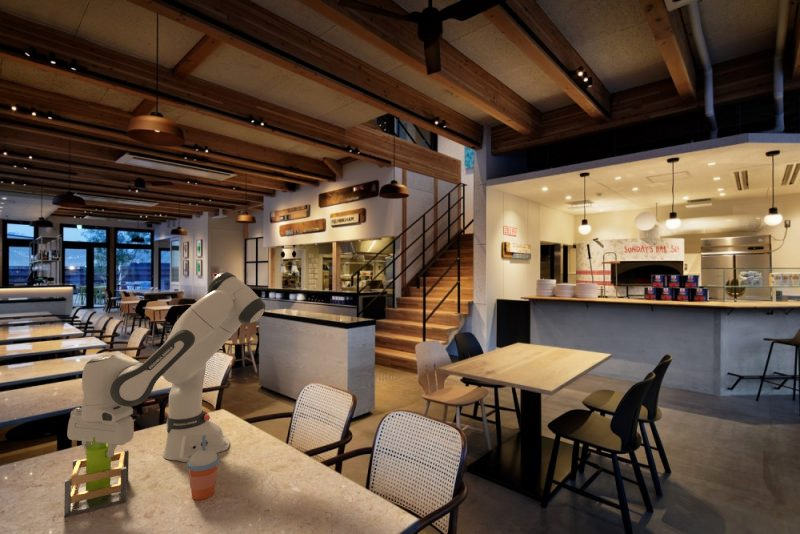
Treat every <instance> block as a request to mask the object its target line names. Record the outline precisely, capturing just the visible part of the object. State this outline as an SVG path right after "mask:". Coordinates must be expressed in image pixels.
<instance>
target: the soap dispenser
mask: <svg viewBox="0 0 800 534" xmlns="http://www.w3.org/2000/svg"><path fill="white" fill-rule="evenodd" d="M91 444H92V445H91V446H89V447H88V448H87V452H86V455H85V456H86V458H85V459H86V467H85V474H88V473H93V472H98V471H103V470H107V469H112V467H111V465H112V461H111V458H108V457H105V452H106V451H108V449H109V447H108V444H106V443H97V442H96V441H95V437H93V441H92V442H91ZM111 478H112V477H109V478H104V479H99V480H95V481H90V482H86V483H85V486H86V491H89V490H94V489H98V488H103V487H107V486H110V481H112V480H111Z"/></svg>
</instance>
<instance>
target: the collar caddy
mask: <svg viewBox="0 0 800 534" xmlns="http://www.w3.org/2000/svg"><path fill="white" fill-rule="evenodd" d="M129 452H130V451H129V449H124V450H123V451H120V452H114V456H112V457H111V462H116V461H119V463H118V466H117V467H113V468H112V467H111V469H107V470H103V471H98V472H93V473H88V474H86V473H85V474H80V470H81V468H86V458H83V459H78V458H77V459H73V461H72V473H71V476H70V478H67V479H65V480H64V509H63V510H64V515H63V517H64V518H68V517H71V516H77V515H79V514H83V513H87V512H92V511H95V510H100V509H103V508H107V507H112V506H116V505H119V504H124V503H126V502H127V494H128V493H127V492H128V485H129V466H130V465H129V459H130V456H129V455H130V453H129ZM79 474H80V475H79ZM109 477H111V478H113V477H118V478H117V479H114V480H113V479H112V480H110V486H107V487H103V488H98V489H94V490H89V491H86V485H85V486H82V487H81V484H82V485H83V484H86V482H90V481H95V480H99V479H104V478H109Z"/></svg>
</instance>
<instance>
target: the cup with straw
mask: <svg viewBox="0 0 800 534" xmlns="http://www.w3.org/2000/svg"><path fill="white" fill-rule="evenodd" d="M205 439H206V436H205V435H204V436H202V449H200V450H198V451H196V452H195V453H194V454H193V455H192V457H191V458H190V460H189V461H188V462H186V468H187V470H189V472H188V477H189V479H188V480H189V487H190V491H191V493H190V494H191V498H192V499H193V500H196V501H200V500H206V499H208V498H210V497H212V496H213V495H214V493H215V487H216V483H217V476H218V475H217V474H218V465H219V464H220V459H221V458H220V456H219V455H218V453H216V452H215V451H214V450H212V449H209V448H205Z"/></svg>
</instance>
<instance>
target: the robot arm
mask: <svg viewBox="0 0 800 534" xmlns="http://www.w3.org/2000/svg"><path fill="white" fill-rule="evenodd" d="M207 291H208V292H207V294H205V295H204V296H202V297H201V298H199V299H198V300H197V301H196V302H194V303H192V305H190V307H188V309H186V310H185V311H184V312H183V313H182V314H181V315H180V316H179V318H178V319H177V321H175V323H174V325H173V327H172V329H171V331H170V333H169V336H168V337H167V339H166V340H165V342H164V343H163V344H162V345H161V346H160V347H159V348H158V349H156V351H155V352H154V353H153V354H151V356H149V357H148V358H147V359H146V360H145V361H144V362H139V361H131V360H126V359H123V358H121V357H118V356H117V355H116V354H105V355H100V356H96V357H94V358H91V359H89V361H87V362H86V363H85V365H84V367H83V370H82V375H81V376H82V377H81V378H82V379H81V390H82V393H83V394H82V400H81V407H75V408H73V409H72V410H71V412H70V417H69V420H68V424H67V433H66V434H67V438H68V439H69V440H72V441H80V442H81V445H82V446H83V449H84V450H85V451H84V452H85V453H84V455H85V456H86V452H87V448H88V447H89V446H91V445H92V441H93V437H95V441H96V442H97V443H106V444H108V447H109V449H108V451H106V452H105V457H108V458H111V457H112V456H114V453H115V449H117V447H118V446H123V445H124V446H125V444H129V442H131V441H132V440H133V438H134V430H135V429H134V420H133V417H132V416H131V415H133V412H134V409H133V407H135V406H139V405H140V404H142V403H144V402H145V401H146V400H147V399H148V398H149V397H150V395H151V393H152V391H153V389H154V386H155V384H156V383H157V382H158V380H159V379H160V378H161V377H163V378H164V380H165V381H167V382H169V383H172V384H171V387H170V391H169V394H168V415H167V416H166V417H167V419H166V432H167V436H166V442H165V446H164V450H163V453H162V457H163V458H164V459H166V460H169V461H170V460H171V461H179V462H183V463H187V462H188V461H189V460H190V458H191V457H192V455H193V454H194V453H195V452H196V451H198V450H200V449H202V436H204V435H205V436H206V439H205V448H209V449H212V450H214V451H215V452H216V454H218V453H221V452H225V451H226V450H229V449H228V448H230V440H229V438H228V437H227V436H226V435H224V432H223V430H222V428H221V427H220V425H218V424H217V423H215V422H213V421H211V420H210V419H211V415H210V414H209V413H208V412H207V411H206V410H205V409H203V390H204V389H203V388H204V387H203V386H204V382H205V374H206V368H207V363H208V361H209V360H210V359H212V357H213V356H215V354H216V353H217V352H218V351H219V350H220V349H221V348H222V347H223V346H224V344H225V343H226V342H227V341H229V339H231V337H232V336H233V335H234V334H235V333H236V332H237V331H238V330H239V328H240V327H241V326H242V324H245V325H251V324H253V323H255V322H257V321H258V320H259V319H260V318H261V317H262V316H263V315H264V312H265V311H266V303H265V302H264V301H263V299H262V298H260V297H259V296H258V295H257V293H256V292H255V291H253V289H252V288H251V287H250V286H248V285H246V284H245V283H244V282H243V281H242V280H241V279H239V278H237V276H236V275H234V274H233V273H231V272H229V271H223V272H220V273H218V274H217V275H215V276H214V277H213V278H212V279H211V280H210V282H209V283H208V285H207Z"/></svg>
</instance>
